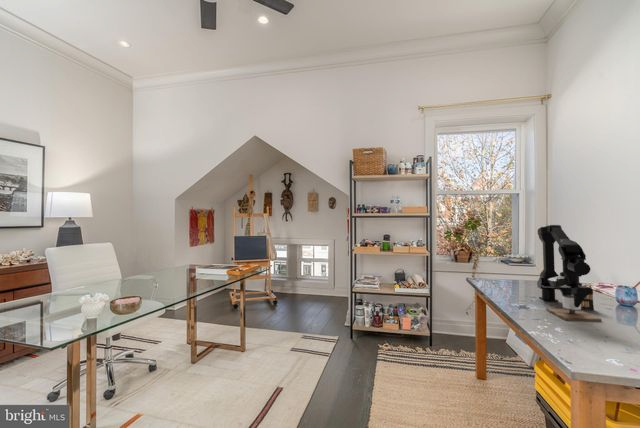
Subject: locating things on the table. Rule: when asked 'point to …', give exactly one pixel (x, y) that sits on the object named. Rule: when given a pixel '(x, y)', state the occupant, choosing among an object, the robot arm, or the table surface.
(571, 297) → the tube
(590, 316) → the post base
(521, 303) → the table surface
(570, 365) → the table surface
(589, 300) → the ammunition clip
